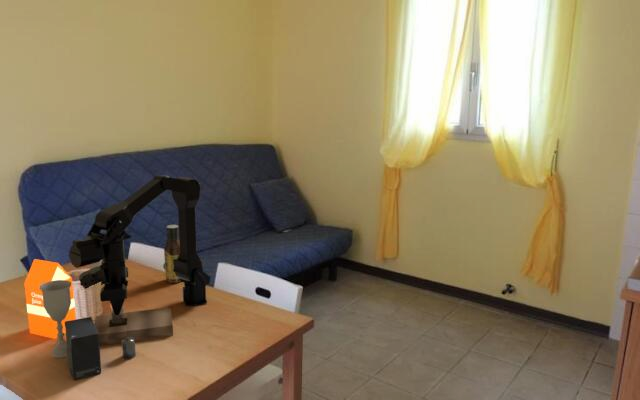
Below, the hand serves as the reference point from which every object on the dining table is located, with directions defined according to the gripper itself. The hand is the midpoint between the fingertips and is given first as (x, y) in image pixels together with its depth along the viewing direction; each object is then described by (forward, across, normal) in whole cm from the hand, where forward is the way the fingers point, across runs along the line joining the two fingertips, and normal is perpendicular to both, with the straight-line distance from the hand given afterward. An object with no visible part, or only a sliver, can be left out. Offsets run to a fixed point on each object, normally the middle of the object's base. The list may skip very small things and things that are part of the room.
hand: (117, 312), depth 136 cm
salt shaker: (+6, -40, -8) cm, 41 cm away
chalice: (+6, +7, -13) cm, 16 cm away
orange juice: (+6, -7, -17) cm, 20 cm away
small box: (+6, +16, -7) cm, 19 cm away
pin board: (+6, 0, +4) cm, 7 cm away
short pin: (+6, +14, +3) cm, 16 cm away
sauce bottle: (+6, -35, +17) cm, 39 cm away
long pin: (+2, 0, 0) cm, 2 cm away
